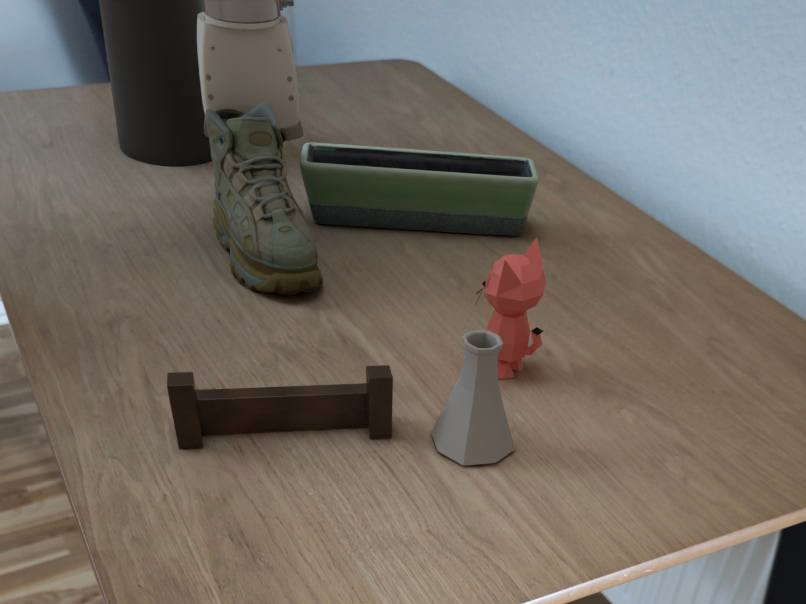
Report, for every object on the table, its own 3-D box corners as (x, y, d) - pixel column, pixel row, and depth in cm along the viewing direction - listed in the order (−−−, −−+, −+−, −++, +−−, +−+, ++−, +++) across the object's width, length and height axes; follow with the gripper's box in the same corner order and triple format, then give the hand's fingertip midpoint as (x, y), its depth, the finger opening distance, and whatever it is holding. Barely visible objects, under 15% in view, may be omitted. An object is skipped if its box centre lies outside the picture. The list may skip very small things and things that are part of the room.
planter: (526, 217, 113) (533, 156, 108) (531, 242, 108) (539, 179, 103) (306, 203, 110) (303, 140, 105) (302, 228, 105) (298, 163, 100)
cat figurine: (494, 343, 91) (507, 224, 82) (553, 365, 89) (572, 246, 80) (458, 371, 87) (467, 249, 78) (519, 396, 85) (536, 273, 76)
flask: (484, 412, 82) (495, 310, 75) (529, 454, 78) (544, 351, 71) (416, 431, 79) (421, 327, 72) (459, 476, 75) (468, 371, 68)
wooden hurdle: (178, 449, 74) (166, 385, 70) (179, 425, 77) (167, 363, 72) (391, 438, 78) (393, 377, 74) (386, 416, 80) (387, 356, 76)
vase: (245, 155, 119) (217, -128, 98) (149, 172, 112) (97, -127, 91) (195, 122, 125) (159, -150, 104) (102, 137, 119) (43, -150, 97)
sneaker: (223, 305, 91) (218, 146, 80) (204, 228, 103) (198, 81, 93) (329, 308, 94) (337, 156, 84) (298, 233, 107) (302, 93, 96)
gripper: (312, -5, 93) (321, 179, 107) (163, -11, 90) (192, 180, 104) (320, 15, 88) (328, 205, 102) (163, 10, 85) (193, 206, 99)
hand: (260, 192), depth 103 cm, fingers closed
